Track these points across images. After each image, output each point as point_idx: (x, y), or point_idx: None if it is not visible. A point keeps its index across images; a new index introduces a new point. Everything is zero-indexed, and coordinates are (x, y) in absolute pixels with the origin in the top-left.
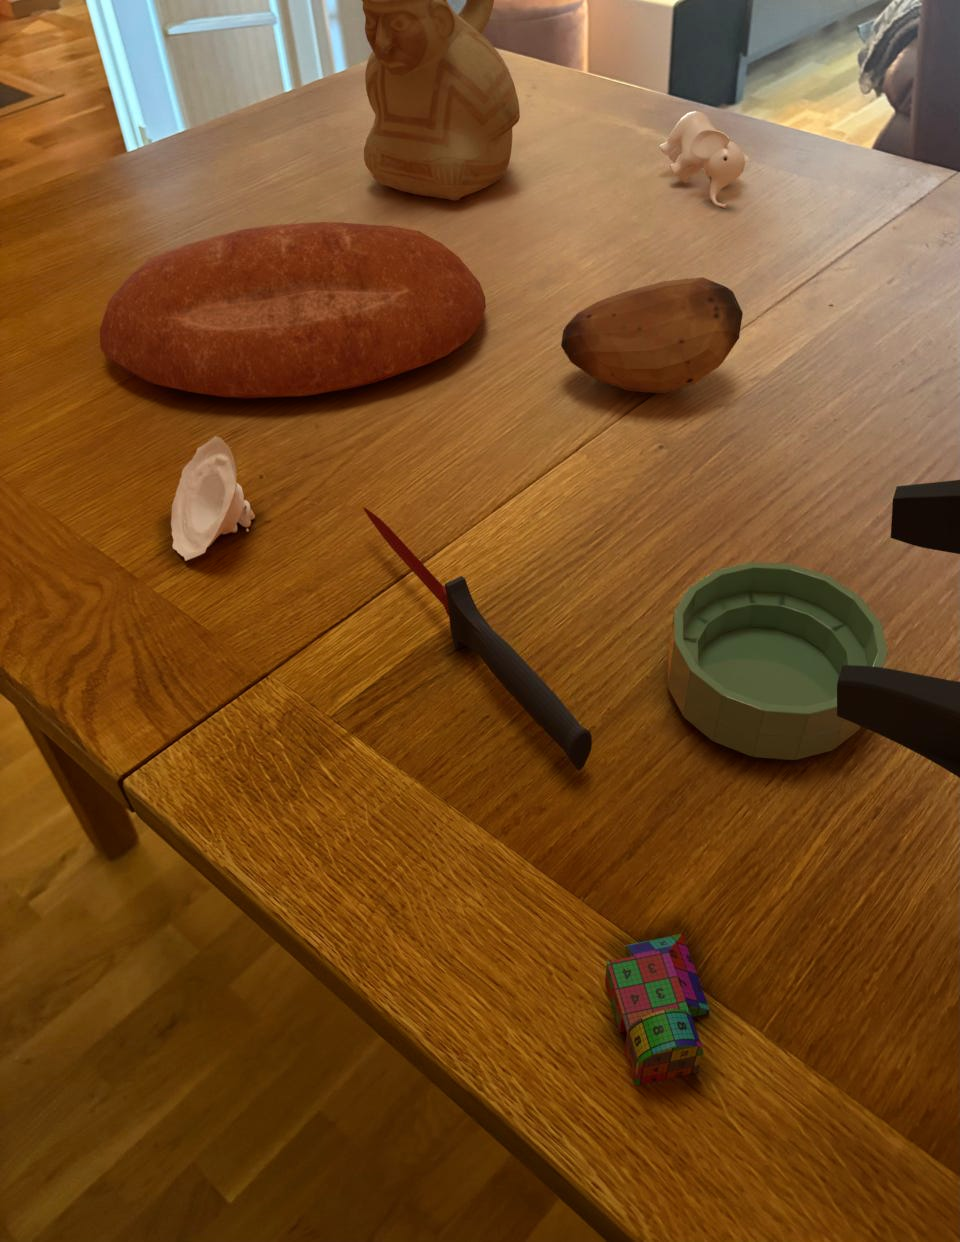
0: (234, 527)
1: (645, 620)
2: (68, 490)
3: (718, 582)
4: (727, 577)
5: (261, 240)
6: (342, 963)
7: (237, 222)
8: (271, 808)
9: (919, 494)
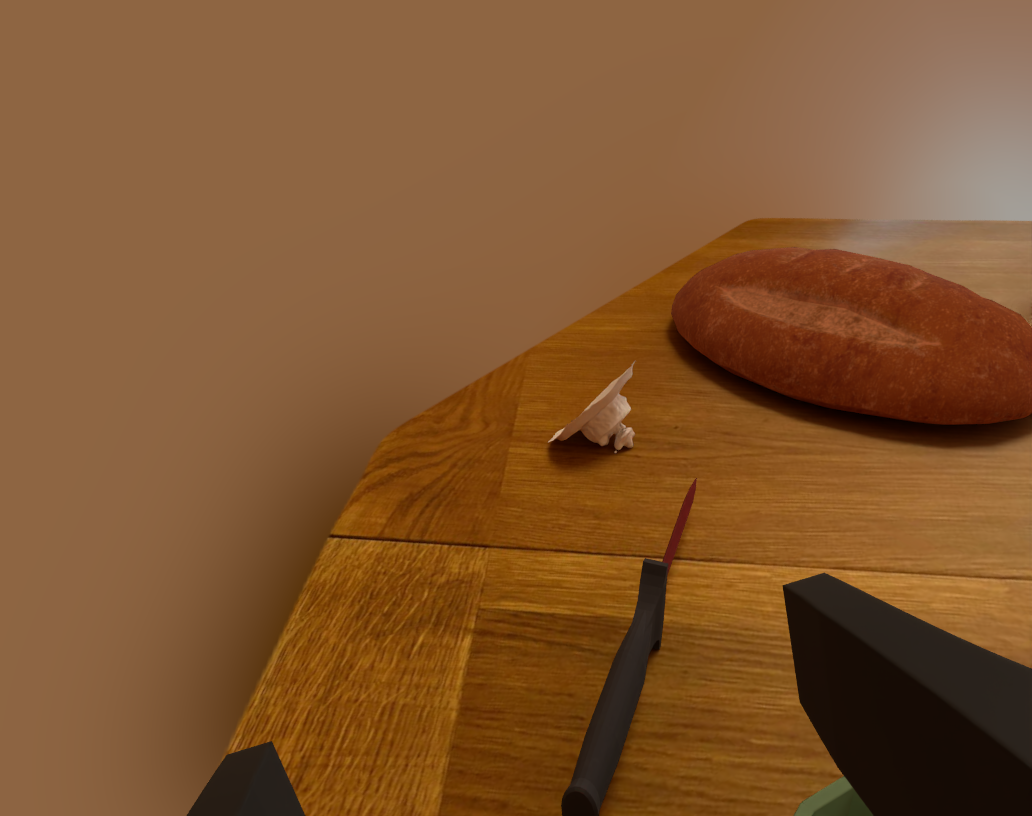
0: (602, 440)
1: None
2: (552, 368)
3: None
4: None
5: (835, 257)
6: None
7: None
8: (355, 630)
9: (820, 600)
